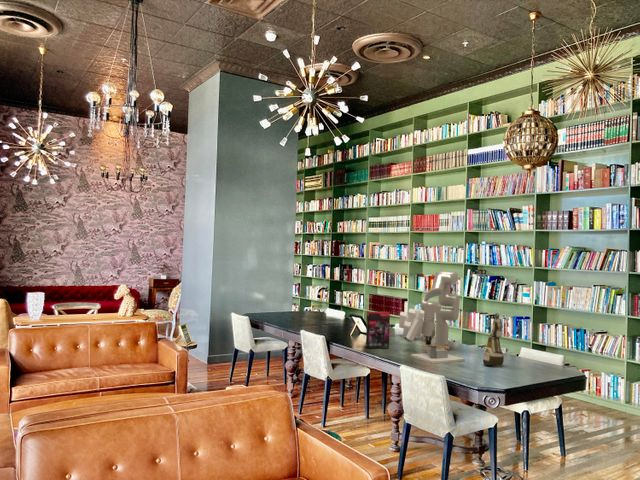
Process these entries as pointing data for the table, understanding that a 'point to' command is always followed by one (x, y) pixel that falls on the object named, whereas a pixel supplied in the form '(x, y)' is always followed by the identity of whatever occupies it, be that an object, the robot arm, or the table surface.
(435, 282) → the robot arm
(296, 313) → the table surface
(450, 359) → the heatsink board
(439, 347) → the bar
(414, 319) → the pile of blocks
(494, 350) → the statue
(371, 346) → the graphics card box
